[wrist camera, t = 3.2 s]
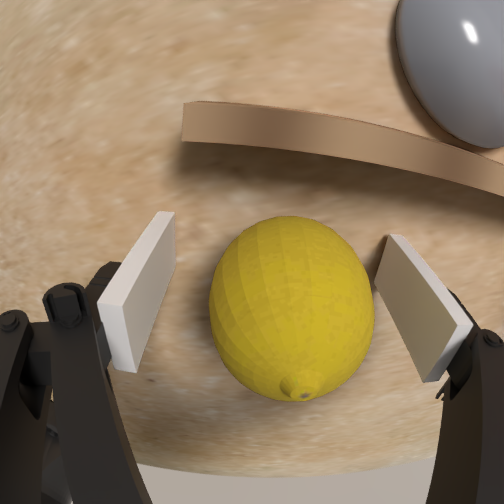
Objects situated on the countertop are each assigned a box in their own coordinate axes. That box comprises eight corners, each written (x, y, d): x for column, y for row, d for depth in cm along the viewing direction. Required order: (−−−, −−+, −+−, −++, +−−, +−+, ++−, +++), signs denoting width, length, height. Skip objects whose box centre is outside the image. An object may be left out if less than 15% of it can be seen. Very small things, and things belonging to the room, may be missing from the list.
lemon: (256, 312, 16) (258, 455, 9) (197, 224, 14) (147, 364, 7) (357, 268, 15) (418, 402, 8) (312, 166, 13) (383, 268, 5)
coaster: (384, 117, 11) (392, 118, 11) (397, -56, 7) (404, -62, 6) (518, 163, 12) (527, 167, 11) (531, 20, 7) (540, 20, 7)
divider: (197, 129, 12) (181, 141, 9) (199, 100, 11) (183, 103, 9) (525, 195, 13) (558, 216, 10) (530, 176, 12) (565, 195, 9)
